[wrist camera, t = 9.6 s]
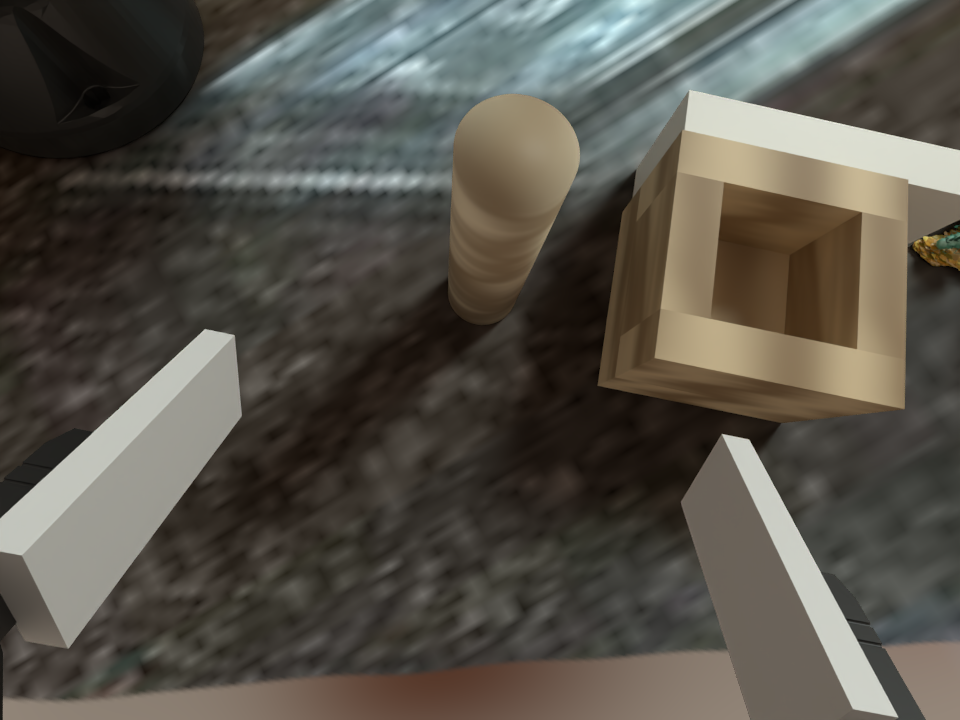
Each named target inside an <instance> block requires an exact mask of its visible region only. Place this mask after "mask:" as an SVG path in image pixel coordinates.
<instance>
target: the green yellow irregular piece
mask: <svg viewBox="0 0 960 720" xmlns="http://www.w3.org/2000/svg"><path fill="white" fill-rule="evenodd" d="M958 226H960V225H957V226H954V228H958V230H956V231H955V230H953V229H951V231H950V233H949V232H948V233H947V232H946V231H945V232H944V235H941V234H940V235H935V236H932V237H928V236H926V237H925V236H924V237H923V239H924V240H917V241H916V242H914V244H913V246H914V247H913V246H912V247H913V249H915V251H917V253H919V254H920V256H921V257H922V258H923V259H925V260H926V261H927V262H928V263H931V265H932V266H935V265H936V266H940V265H942V266H950V267H955V268H957V269H958V270H959V271H960V227H958Z"/></svg>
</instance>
